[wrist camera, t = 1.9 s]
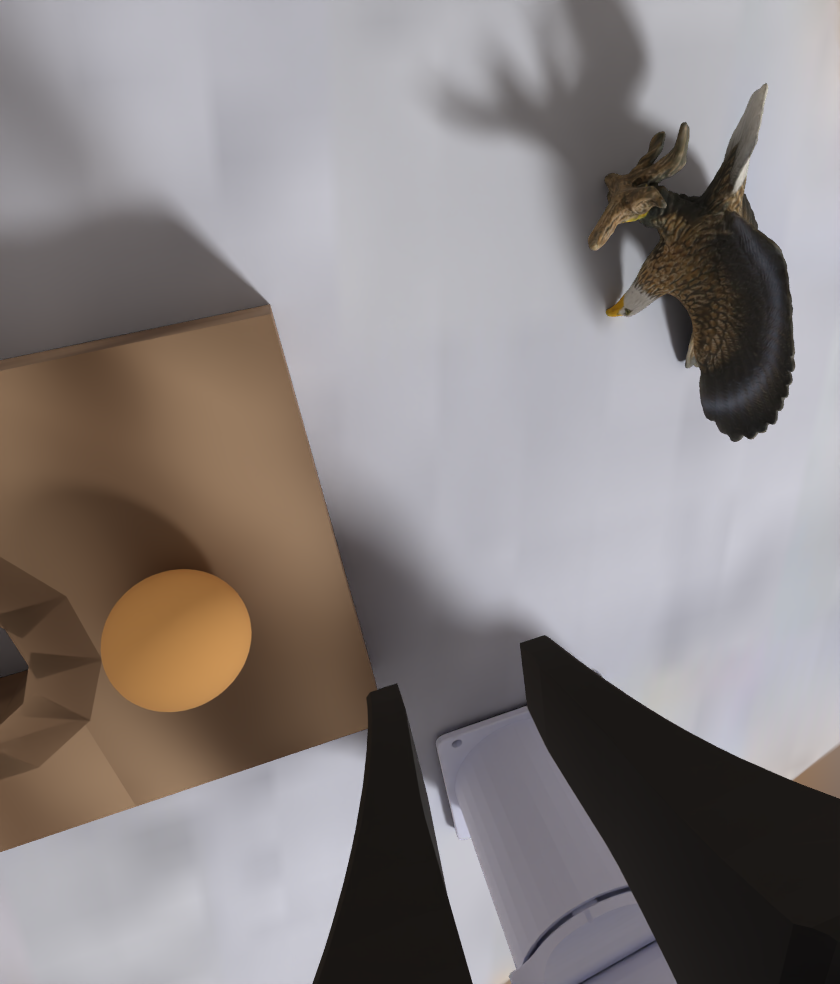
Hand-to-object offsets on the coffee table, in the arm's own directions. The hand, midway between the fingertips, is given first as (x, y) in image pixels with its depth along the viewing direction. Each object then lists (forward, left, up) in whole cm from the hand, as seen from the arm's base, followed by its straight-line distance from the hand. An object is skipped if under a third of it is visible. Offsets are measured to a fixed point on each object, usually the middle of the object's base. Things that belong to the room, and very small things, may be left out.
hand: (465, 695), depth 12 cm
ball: (+7, 0, -5) cm, 9 cm away
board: (+11, 0, -10) cm, 15 cm away
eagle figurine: (-12, -6, -11) cm, 17 cm away
